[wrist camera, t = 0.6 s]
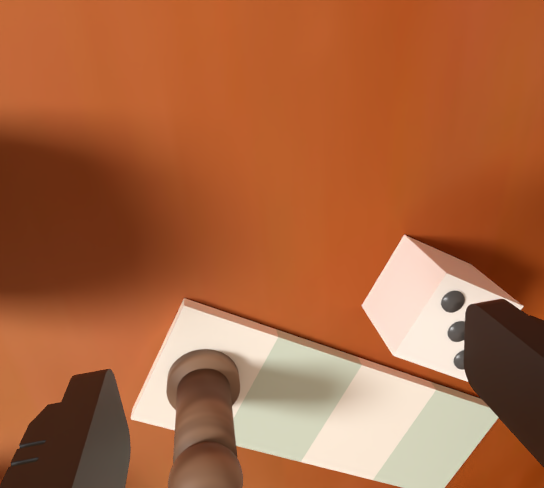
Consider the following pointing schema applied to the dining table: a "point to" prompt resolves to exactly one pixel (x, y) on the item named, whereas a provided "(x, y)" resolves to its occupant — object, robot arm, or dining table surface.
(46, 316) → the dining table surface
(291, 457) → the game board
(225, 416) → the pawn
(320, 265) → the dining table surface
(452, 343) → the die
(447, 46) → the dining table surface
